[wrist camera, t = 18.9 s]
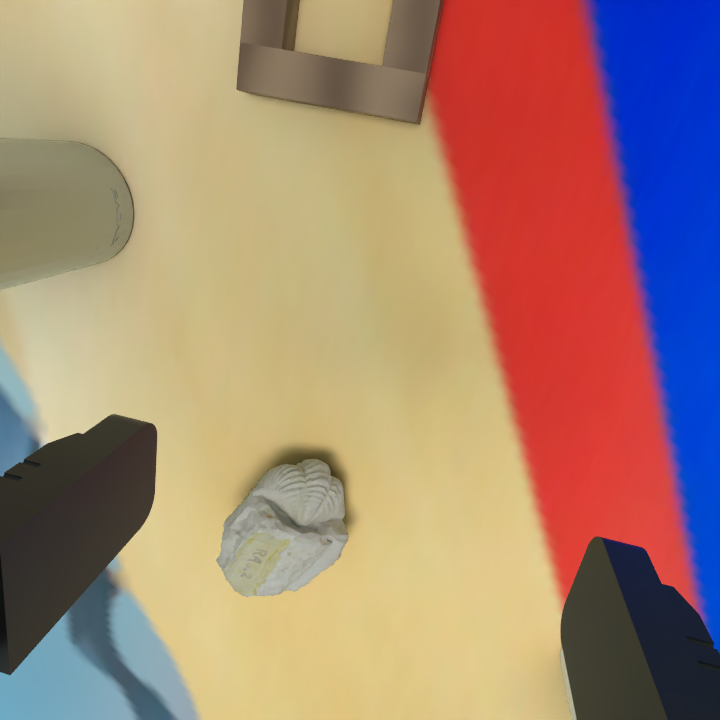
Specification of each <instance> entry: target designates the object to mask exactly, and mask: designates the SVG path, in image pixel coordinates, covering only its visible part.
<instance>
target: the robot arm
mask: <svg viewBox="0 0 720 720" xmlns="http://www.w3.org/2000/svg"><path fill="white" fill-rule="evenodd" d="M132 223H133V206H132V200H131V196H130V192H129V189H128V187H127V185H126V183H125V181H124V178H123V177H122V175H121V174H120V172H119V171H118V169H117V168H116V166H115V165H114V164H113V163H112V162H111V161H110V160H109V159H108V158H107V157H106V156H104V155H103V154H102V153H100V152H99V151H97V150H96V149H94V148H92V147H89V146H87V145H85V144H82V143H76V142H69V141H49V140H33V139H12V138H0V290H3V289H6V288H10V287H14V286H17V285H21V284H24V283H28V282H32V281H35V280H39V279H42V278H46V277H50V276H53V275H57V274H60V273H64V272H68V271H72V270H75V269H79V268H82V267H86V266H89V265H93V264H96V263H100V262H104V261H106V260H108V259H110V258H112V257H114V256H115V255H116V254H117V253H118V252H119V251H120V250H121V249H122V248H123V247H124V245H125V243H126V242H127V240H128V238H129V235H130V232H131V229H132ZM156 453H157V430H156V427H155V425H153V424H152V423H148V422H144V421H140V420H136V419H132V418H128V417H124V416H120V415H116V414H113V415H110V416H108V417H107V418H105V419H104V420H102V421H101V422H100V423H98V424H97V425H95V426H94V427H93V428H91V429H90V430H88V431H87V432H86V433H84V434H80V433H76V434H73V435H70V436H67V437H64V438H62V439H59V440H56V441H53V442H50V443H48V444H46V445H45V446H43V447H42V448H40V449H39V450H37V451H36V452H34V453H33V454H31V455H30V456H28V457H27V458H25V459H24V462H23V463H20V462H19V463H18V464H16V465H15V466H14V467H12V468H11V469H9V470H8V471H6V472H5V474H4V476H3V477H1V476H0V672H2V673H5V674H9V675H11V674H12V673H13V672H14V670H15V669H16V668H17V667H18V666H19V665H20V664H21V663H22V661H23V660H24V659H25V658H26V657H27V656H28V654H29V653H30V652H31V651H32V650H33V649H34V648H35V647H36V646H37V644H38V643H39V642H40V641H41V640H42V639H43V637H44V636H45V635H46V634H47V633H48V632H49V631H50V630H51V629H52V627H53V626H54V625H55V624H56V623H57V622H58V621H59V620H60V618H61V617H62V616H63V615H64V614H65V613H66V612H67V611H68V609H69V608H70V607H71V606H72V605H73V604H74V603H75V601H76V600H77V599H78V598H79V597H80V596H81V595H82V594H83V592H84V591H85V590H86V589H87V588H88V587H89V586H90V585H91V583H92V582H93V581H94V580H95V579H96V578H97V577H98V575H99V574H100V573H101V572H102V571H103V570H104V569H105V568H106V566H107V565H108V564H109V563H110V562H111V561H112V560H113V559H114V557H115V556H116V555H117V554H118V553H119V552H120V551H121V549H122V548H123V547H124V546H125V545H126V544H127V543H128V542H129V540H130V539H131V538H132V537H133V536H134V535H135V534H136V533H137V531H138V530H139V529H140V528H141V527H142V525H143V524H144V522H145V521H146V519H147V517H148V515H149V513H150V510H151V508H152V504H153V501H154V495H155V476H156ZM561 643H562V649H563V654H564V659H565V664H566V669H567V674H568V679H569V684H570V689H571V694H572V699H573V704H574V709H575V714H576V719H577V720H720V654H719V652H718V650H717V649H714V647H713V646H714V643H713V641H712V639H711V637H710V635H709V633H708V631H707V629H706V627H705V625H704V623H703V621H702V619H701V617H700V615H699V614H698V613H697V612H696V611H695V610H694V609H693V608H692V606H691V605H690V604H689V603H688V602H687V601H686V600H685V599H684V598H683V597H682V596H681V595H680V594H679V592H678V591H677V590H676V589H675V588H674V587H672V586H668V585H664V584H661V582H660V579H659V577H658V575H657V573H656V571H655V569H654V566H653V564H652V562H651V560H650V558H649V556H648V554H647V552H646V551H645V549H643V548H642V547H638V546H634V545H630V544H626V543H622V542H618V541H614V540H610V539H606V538H602V537H598V536H597V537H594V538H593V539H592V540H591V542H590V543H589V545H588V547H587V550H586V552H585V555H584V557H583V560H582V562H581V565H580V567H579V570H578V572H577V575H576V577H575V580H574V582H573V585H572V587H571V590H570V592H569V595H568V597H567V600H566V602H565V605H564V609H563V613H562V619H561Z"/></svg>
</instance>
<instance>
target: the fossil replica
mask: <svg viewBox="0 0 720 720" xmlns="http://www.w3.org/2000/svg"><path fill="white" fill-rule="evenodd" d="M344 516H345V506H344V490H343V485H342V483H341V481H340V480H339V479H337V478H336V477H333V476H331V471H330V469H329V466H328V465H327V464H326V463H324V462H322V461H321V460H318V459H307V460H303V461H302V462H301V463H298V464H297V465H289V464H283V465H279V466H277V467H275V468H273V469H270V470H269V471H267V473H266V474H264V475H263V476H262V479H261V480H259V481H257V484H256V487H255V488H254V489H251V491H250V493H249V495H248V497H246V498H245V499H244V500H243V502H242V504H241V505H239V506H238V507H237V508H236V510H235V511H234V512H233V513H232V514H231V515H230V516H229V517H228V518H227V519H226V520H225V522H224V531H223V537H222V543H221V553H220V556H219V557H218V558H217V559H216V561H217V563H218V565H219V566H220V567H221V568H222V571H223V573H224V576H225V578H226V580H227V581H228V582H229V583H230V585H231V586H232V587H233V589H234V590H235V591H236V592H238V593H239V594H241V595H242V596H246V597H249V596H273V595H277V594H281V593H282V592H283V591H288V590H291V591H297V590H298V589H299V588H301V587H303V586H305V585H307V584H308V583H309V582H310V581H311V580H312V579H313V578H315V577H316V576H317V575H318V574H319V573H320V572H322V571H324V570H326V569H327V568H328V567H330V566H331V565H333V564H334V562H335V561H336V560H338V559H339V557H340V555H341V552H342V550H343V548H344V546H345V544H346V543H347V541H348V532H347V531H346V527H345V524H344V522H343V521H342V520H343V518H344Z"/></svg>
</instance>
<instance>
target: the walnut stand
mask: <svg viewBox="0 0 720 720" xmlns="http://www.w3.org/2000/svg"><path fill="white" fill-rule="evenodd" d="M443 3H444V0H393V5H392V11H391V17H390V23H389V29H388V35H387V41H386V47H385V53H384V59H383V65H382V66H377V65H371V64H366V63H360V62H354V61H348V60H342V59H336V58H330V57H324V56H319V55H313V54H307V53H301V52H295V51H294V44H295V36H296V27H297V18H298V9H299V0H244V4H243V16H242V28H241V40H240V53H239V65H238V77H237V89H236V90H239V91H243V92H246V93H249V94H254V95H259V96H265V97H270V98H276V99H281V100H287V101H292V102H298V103H304V104H309V105H315V106H320V107H326V108H331V109H337V110H342V111H348V112H354V113H359V114H365V115H370V116H376V117H381V118H387V119H392V120H398V121H404V122H409V123H415V124H420V121H421V116H422V111H423V106H424V100H425V95H426V90H427V85H428V80H429V75H430V70H431V65H432V59H433V54H434V49H435V44H436V39H437V34H438V29H439V24H440V19H441V13H442V8H443Z"/></svg>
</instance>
